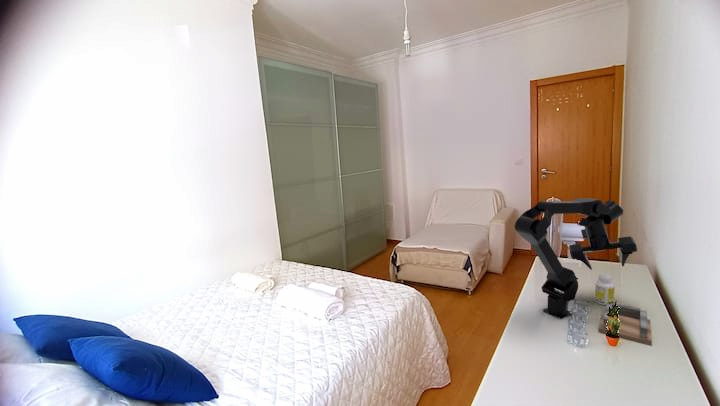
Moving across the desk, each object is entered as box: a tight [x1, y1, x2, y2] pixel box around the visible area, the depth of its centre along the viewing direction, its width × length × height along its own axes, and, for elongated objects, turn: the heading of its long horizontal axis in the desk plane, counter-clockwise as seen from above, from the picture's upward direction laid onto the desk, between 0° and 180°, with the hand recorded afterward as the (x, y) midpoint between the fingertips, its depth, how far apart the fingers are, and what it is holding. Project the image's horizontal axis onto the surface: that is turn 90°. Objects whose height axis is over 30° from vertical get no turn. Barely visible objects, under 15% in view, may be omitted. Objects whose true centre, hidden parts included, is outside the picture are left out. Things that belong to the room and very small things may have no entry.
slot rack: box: [598, 303, 653, 346], centre depth 99 cm, size 14×12×4 cm
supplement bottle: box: [594, 274, 615, 306], centre depth 114 cm, size 5×5×10 cm
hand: (606, 267), depth 114 cm, fingers open, 9 cm apart
